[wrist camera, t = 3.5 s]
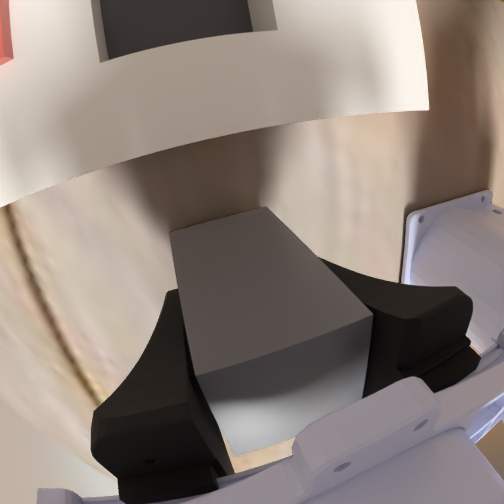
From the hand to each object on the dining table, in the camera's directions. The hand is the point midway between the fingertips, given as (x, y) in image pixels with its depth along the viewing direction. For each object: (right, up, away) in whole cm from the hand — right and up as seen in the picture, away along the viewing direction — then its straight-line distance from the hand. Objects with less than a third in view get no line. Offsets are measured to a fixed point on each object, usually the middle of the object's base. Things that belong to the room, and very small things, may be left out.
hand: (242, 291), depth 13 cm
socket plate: (-3, +12, -3) cm, 13 cm away
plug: (-1, +2, +3) cm, 3 cm away
